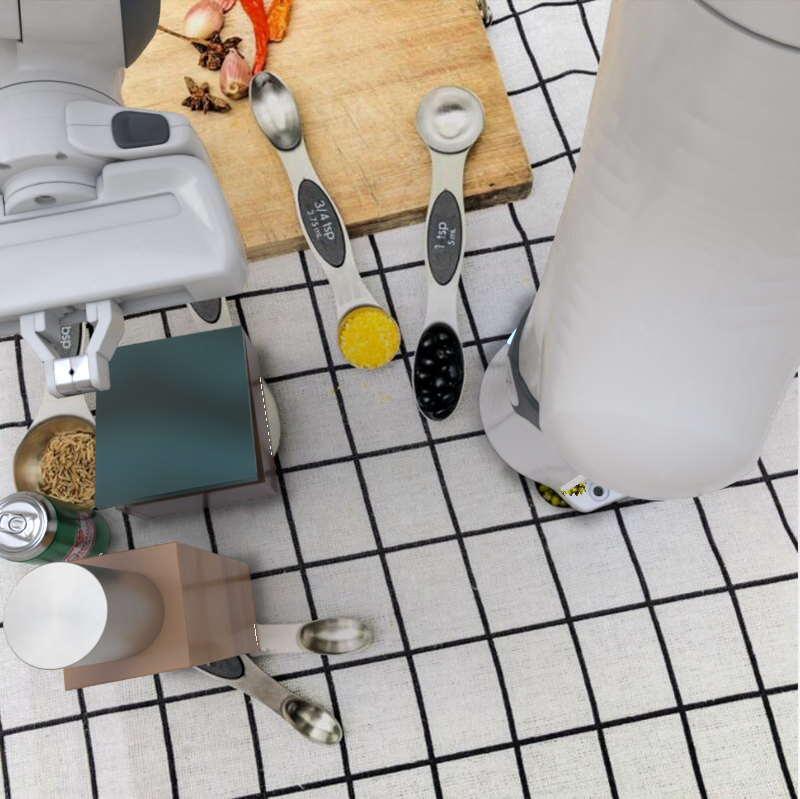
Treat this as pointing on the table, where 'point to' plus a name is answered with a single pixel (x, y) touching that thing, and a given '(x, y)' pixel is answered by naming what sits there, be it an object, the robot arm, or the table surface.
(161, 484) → the hatch
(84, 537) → the soda can
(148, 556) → the stand
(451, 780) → the table surface
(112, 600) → the tin
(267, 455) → the chest
